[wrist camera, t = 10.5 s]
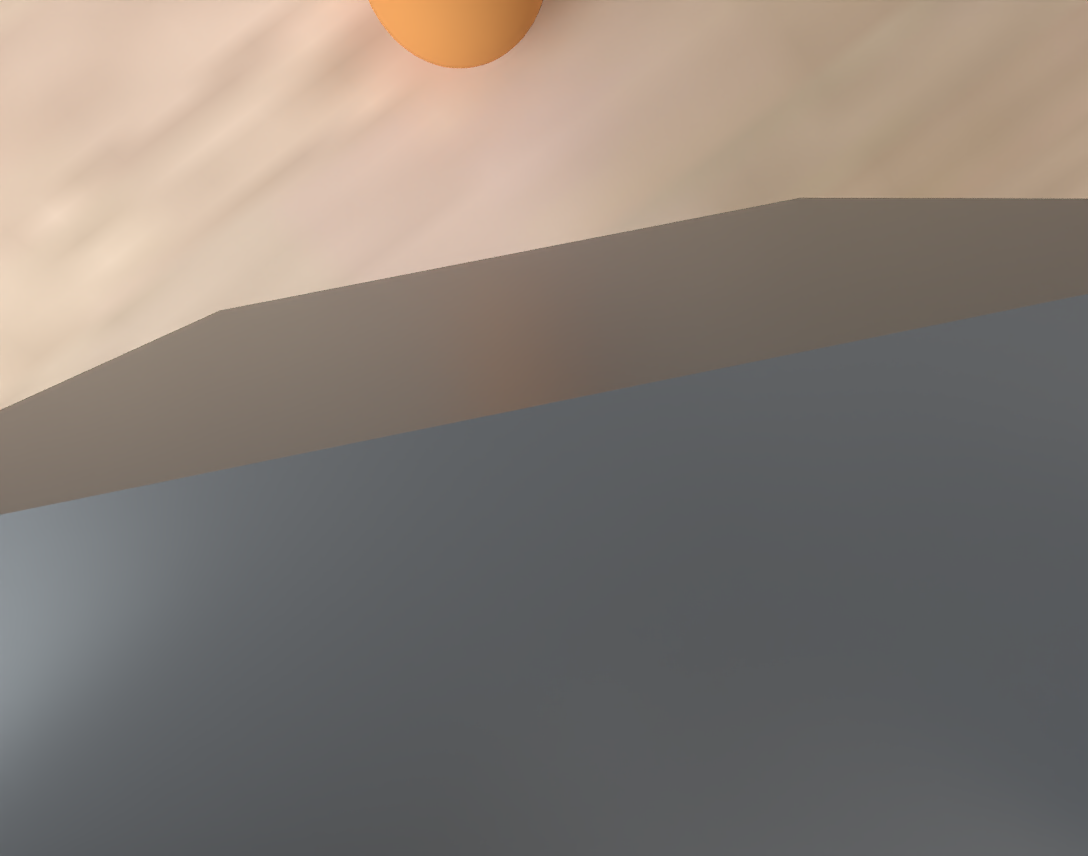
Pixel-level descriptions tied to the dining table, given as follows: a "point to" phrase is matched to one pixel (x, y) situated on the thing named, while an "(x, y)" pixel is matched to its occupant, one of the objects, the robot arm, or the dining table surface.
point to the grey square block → (575, 555)
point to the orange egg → (457, 28)
